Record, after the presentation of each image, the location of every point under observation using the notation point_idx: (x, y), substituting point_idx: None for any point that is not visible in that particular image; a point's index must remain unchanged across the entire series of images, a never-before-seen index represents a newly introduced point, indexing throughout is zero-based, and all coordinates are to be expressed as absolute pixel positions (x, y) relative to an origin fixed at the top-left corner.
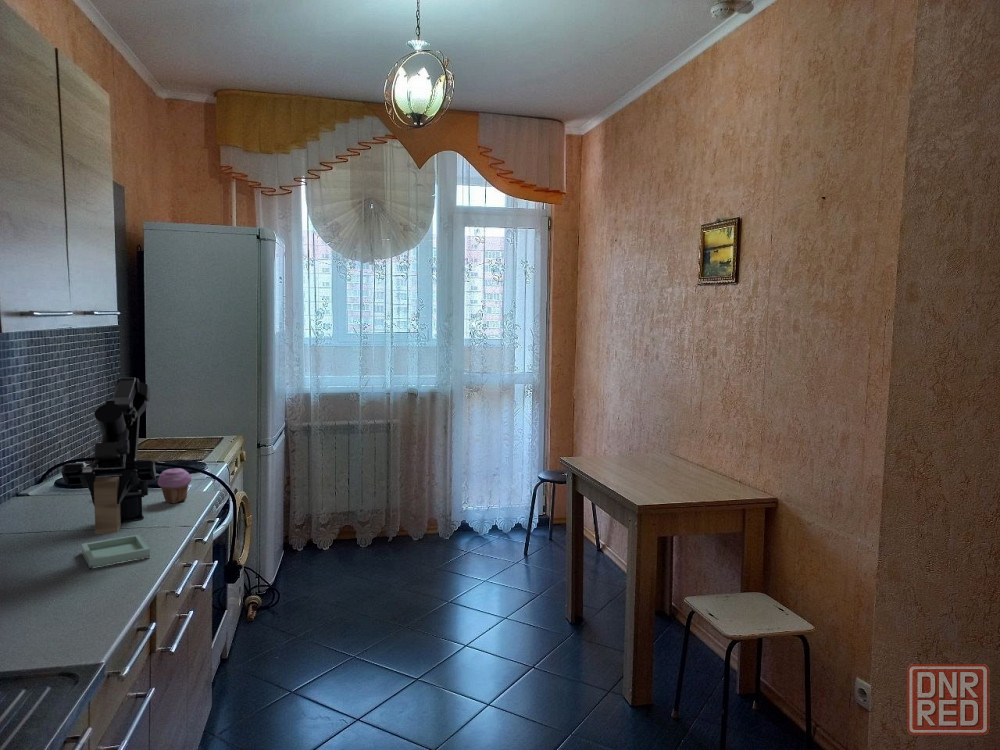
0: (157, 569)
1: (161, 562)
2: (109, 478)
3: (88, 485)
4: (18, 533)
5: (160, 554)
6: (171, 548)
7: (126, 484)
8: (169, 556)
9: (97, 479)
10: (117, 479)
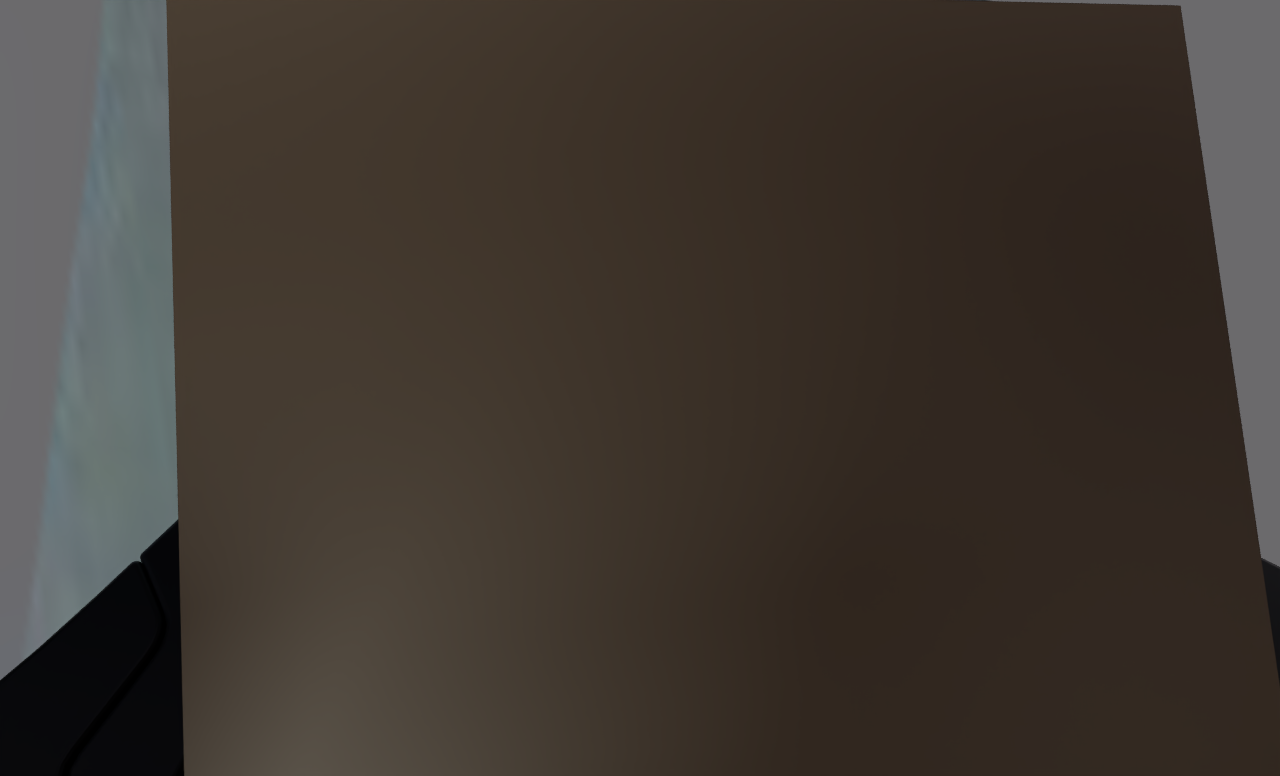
0: (138, 70)
1: (126, 212)
2: (690, 737)
3: (1270, 566)
4: None
5: (159, 402)
6: (79, 537)
7: (2, 702)
8: (74, 336)
9: (1214, 598)
10: (188, 505)
